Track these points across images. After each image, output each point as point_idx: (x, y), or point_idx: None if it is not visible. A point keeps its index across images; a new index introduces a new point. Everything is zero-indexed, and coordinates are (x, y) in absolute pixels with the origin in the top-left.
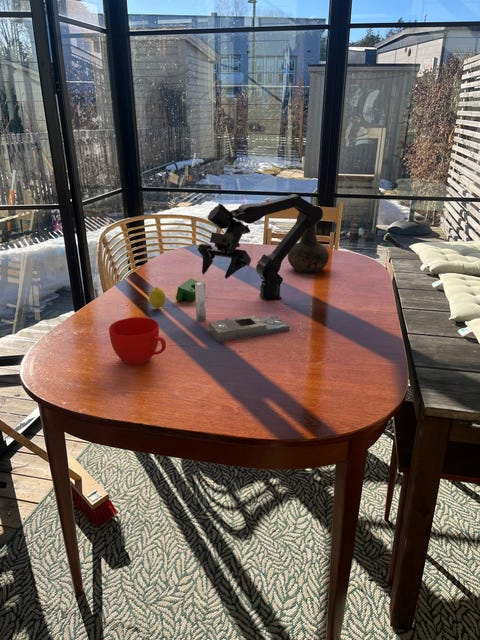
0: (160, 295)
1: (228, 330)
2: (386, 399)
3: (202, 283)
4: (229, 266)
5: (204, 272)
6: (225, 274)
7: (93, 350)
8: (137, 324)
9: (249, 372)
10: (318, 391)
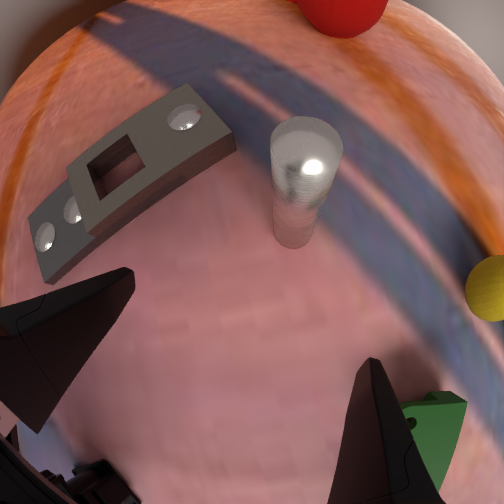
0: (492, 266)
1: (161, 100)
2: (17, 82)
3: (292, 148)
4: (47, 310)
5: (358, 381)
6: (117, 278)
7: (426, 53)
8: (365, 4)
9: (132, 45)
10: (63, 58)
